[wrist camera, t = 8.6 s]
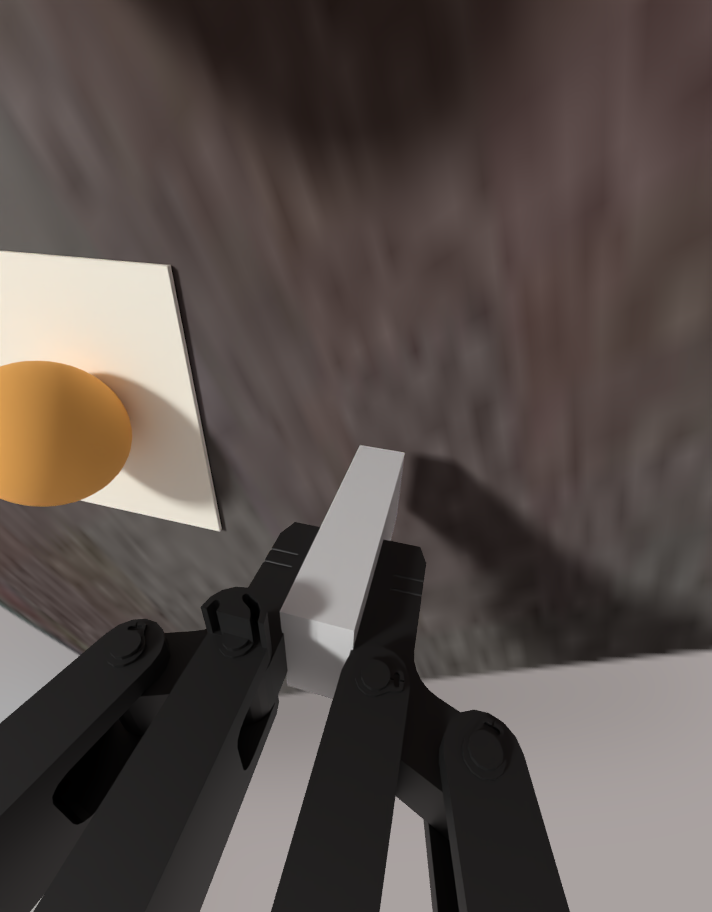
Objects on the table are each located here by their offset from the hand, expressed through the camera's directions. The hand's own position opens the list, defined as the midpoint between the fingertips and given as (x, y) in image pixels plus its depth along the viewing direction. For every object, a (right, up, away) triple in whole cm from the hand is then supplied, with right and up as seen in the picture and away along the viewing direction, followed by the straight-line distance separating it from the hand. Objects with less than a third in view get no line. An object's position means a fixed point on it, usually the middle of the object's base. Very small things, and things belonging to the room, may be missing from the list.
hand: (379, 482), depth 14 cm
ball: (-13, +2, +2) cm, 13 cm away
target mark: (-13, +3, +4) cm, 14 cm away
